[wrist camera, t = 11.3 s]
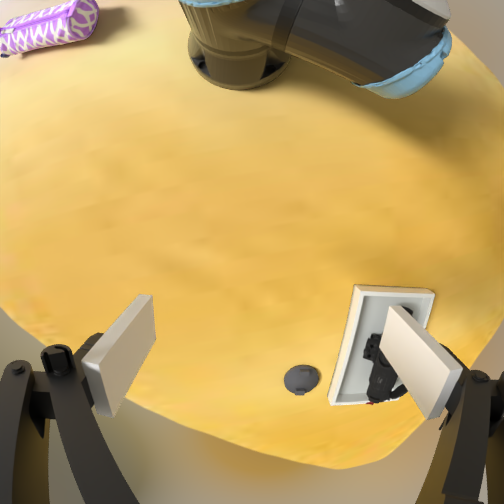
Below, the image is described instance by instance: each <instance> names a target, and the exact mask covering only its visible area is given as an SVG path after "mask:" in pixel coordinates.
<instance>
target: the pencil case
mask: <svg viewBox="0 0 504 504" xmlns="http://www.w3.org/2000/svg"><path fill="white" fill-rule="evenodd" d="M98 15H99V8H98V5H97V3H96V1H95V0H71V1H69V2H67V3H63V4H60V5H57V6H54V7H51V8H47V9H44V10H40V11H37V12H33V13H30V14H26V15H23V16H20V17H15V18H12V19H11V20H9V21H8V22H7V23H6V24H5V26H4V27H3V28H0V49H1V51H2V54H1V57H3V58H8V57H9V56H10V55H16V54H18V53H23V52H27V51H30V50H34V49H38V48H44V47H48V46H55V45H62V44H66V43H70V42H75V41H79V40H84V39H86V38H88V37H89V36H90V35H91V34H92V32H93V31H94V29H95V27H96V25H97V19H98Z"/></svg>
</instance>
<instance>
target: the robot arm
mask: <svg viewBox="0 0 504 504" xmlns="http://www.w3.org/2000/svg"><path fill="white" fill-rule="evenodd" d="M179 3H180V5H181V7H182V9H183V11H184V13H185V16H186V18H187V20H188V22H189V24H190V27H191V32H190V36H189V40H188V52H189V56H190V59H191V61H192V63H193V65H194V67H195V69H196V70H197V72H198V73H199V74H200V75H201V76H202V77H203V78H204V79H206V80H207V81H209V82H210V83H212V84H214V85H216V86H219V87H222V88H227V89H233V90H245V89H252V88H256V87H260V86H262V85H265V84H267V83H269V82H271V81H272V80H274V79H275V78H276V77H278V76H279V75H280V74H281V73H282V72H283V70H284V69H285V68H286V66H287V64H288V62H289V60H290V57H291V55H293V56H295V57H298V58H301V59H303V60H305V61H308V62H310V63H313V64H315V65H317V66H319V67H322V68H324V69H326V70H328V71H331V72H333V73H335V74H337V75H339V76H341V77H343V78H345V79H347V80H349V81H351V83H352V84H353V85H355V86H357V87H360V88H365V89H367V90H369V91H371V92H373V93H375V94H377V95H379V96H381V97H384V98H387V99H391V98H392V99H400V98H404V97H407V96H409V95H411V94H413V93H415V92H417V91H418V90H420V89H421V88H422V87H424V86H425V85H426V84H427V83H428V82H429V81H430V80H432V79H433V78H434V76H435V75H436V74H437V73H438V72H439V70H440V69H441V68H442V66H443V64H444V62H443V59H444V58H446V57H447V56H448V55H449V53H450V50H451V46H452V37H451V34H450V32H449V30H448V29H447V27H446V26H445V24H446V23H447V22H448V21H449V19H450V17H451V13H450V9H449V6H448V2H447V0H179ZM155 340H156V334H155V323H154V311H153V297H152V295H143V294H139V295H138V296H137V297H136V298H135V300H134V301H133V302H132V303H131V304H130V305H129V306H128V307H127V308H126V309H125V311H124V312H123V313H122V314H121V315H120V316H119V317H118V318H117V320H116V321H115V322H114V323H113V324H112V325H111V326H110V327H109V329H108V330H107V331H106V332H105V333H104V334H103V333H96V334H94V335H93V336H91V337H89V338H88V339H87V340H86V342H85V343H84V344H83V345H82V346H81V347H80V349H78V350H77V351H76V353H75V354H74V355H72V351H71V349H70V348H69V347H68V346H66V345H62V344H56V345H51V346H48V347H47V348H45V349H44V350H43V351H42V352H41V359H42V363H43V365H44V369H45V372H38V371H33V370H32V367H31V365H30V363H29V362H27V361H24V360H16V361H13V362H11V363H10V364H8V365H7V366H6V368H5V370H4V373H3V375H2V378H1V381H0V504H50V502H49V486H48V485H49V483H48V448H49V428H50V419H56V421H57V425H58V429H59V432H60V436H61V439H62V443H63V445H64V449H65V452H66V455H67V458H68V461H69V464H70V467H71V470H72V472H73V475H74V478H75V480H76V483H77V485H78V487H79V490H80V492H81V495H82V497H83V499H84V501H85V503H86V504H139V502H138V500H137V499H136V497H135V496H134V494H133V492H132V491H131V489H130V487H129V485H128V484H127V482H126V480H125V479H124V477H123V475H122V473H121V471H120V470H119V468H118V466H117V464H116V462H115V460H114V458H113V456H112V454H111V452H110V450H109V448H108V446H107V444H106V442H105V440H104V438H103V436H102V433H101V431H100V429H99V427H98V424H97V422H96V420H95V417H94V415H93V413H92V410H91V408H92V406H93V405H95V408H96V411H97V414H101V415H104V416H108V417H112V418H114V416H115V414H116V412H117V410H118V409H119V407H120V404H121V403H122V401H123V399H124V397H125V395H126V393H127V392H128V390H129V388H130V386H131V384H132V382H133V380H134V378H135V377H136V375H137V373H138V371H139V369H140V367H141V366H142V364H143V362H144V360H145V358H146V357H147V355H148V353H149V351H150V349H151V348H152V346H153V344H154V342H155ZM379 348H380V349H381V351H382V352H383V354H384V355H385V357H386V358H387V360H388V361H389V363H390V364H391V366H392V367H393V369H394V370H395V372H396V373H397V375H398V376H399V378H400V379H401V381H402V382H403V384H404V385H405V387H406V388H407V390H408V391H409V393H410V395H411V396H412V398H413V399H414V401H415V402H416V404H417V406H418V407H419V409H420V410H421V412H422V413H423V415H424V417H425V418H426V420H429V419H433V418H437V417H440V415H441V413H442V411H443V409H444V407H446V409H447V410H448V414H447V416H446V417H445V419H444V421H443V423H442V425H441V426H440V428H439V430H441V429H442V432H441V435H440V438H439V442H438V445H437V448H436V451H435V454H434V457H433V460H432V463H431V466H430V469H429V472H428V474H427V477H426V479H425V482H424V484H423V487H422V489H421V492H420V494H419V496H418V498H417V501H416V503H415V504H484V503H483V502H479V501H478V497H479V493H480V489H481V484H482V479H483V473H484V467H485V465H486V475H487V490H488V504H504V417H503V416H504V372H502V374H501V376H500V378H499V380H490V377H489V376H488V375H487V374H486V373H484V372H482V371H479V370H471V371H470V370H469V369H468V368H467V367H466V366H465V365H464V364H463V363H462V362H461V361H460V360H459V359H458V358H457V357H456V356H455V355H454V354H453V352H452V351H451V350H450V349H449V348H447V347H446V346H444V345H442V344H441V343H438V342H437V341H436V340H435V339H434V338H433V337H432V336H431V335H430V334H429V333H428V332H427V331H426V330H425V329H424V328H423V327H422V326H421V325H420V324H419V323H418V322H417V321H416V320H415V319H414V318H413V317H412V316H411V315H410V314H409V313H408V312H407V311H406V310H405V309H404V308H403V307H402V306H389V310H388V314H387V319H386V323H385V327H384V331H383V334H382V338H381V342H380V346H379ZM442 427H443V428H442Z"/></svg>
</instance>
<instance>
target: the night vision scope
mask: <svg viewBox="0 0 504 504" xmlns="http://www.w3.org/2000/svg"><path fill="white" fill-rule="evenodd" d="M402 307H403V308H404V309H405V310H406V311H407V312H408V313H409V314H410V315H411V316H412V314H413V311H412V310H411V309H410V308H407V307H404V306H402ZM412 317H413V316H412ZM385 323H386V322H385ZM384 327H385V326H384ZM383 331H384V330H383ZM382 334H383V333H382ZM381 338H382V335H381V336H377V335H374V334H371V337H370V338H368V339H367V342H366V346H365V349H364V350H363V353H364V354H363V358H364V359H367V360H370V361H372V363H374V364H373V367H372V371H371V374H370V377H369V386H368V389H367V392H366V395H367V397H368V398H369V399H368V400H369V401H370V402H367V403H366V404H371V405H373V404H374V403H379V402H384V401H386V400H388V401H389V400H390V399H397V398H399V397H401V396H403V395H404V394H405V393H406V392H408V390H407V388H406V387H405V385H404V384H401V385H400V386H398V387H397V388H396V389H394V390H393V391H392V388H393V387H394V385H395V383H396V380H397V378H398V375H397V373H396V372H395V370H394V369H393V367H392V366H391V364H390V363H389V361H388V360H387V358H386V357H385V355H384V354H383V352H382V351H381V349H380V348H379V346H380V342H381Z"/></svg>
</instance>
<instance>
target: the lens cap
mask: <svg viewBox="0 0 504 504" xmlns="http://www.w3.org/2000/svg"><path fill="white" fill-rule="evenodd" d="M318 380H319V378H318V374H317V371H316V370H315V369H314V368H313V367H311V366H309V365H298V366H295V367H293V368H291V369H290V370H289V371H288V372H287V373H286V374H285V377H284V383H285V387H286V388H287V390H289V391H290V392H292V393H295V395H304V394H305V393H306V392H309V391H311V390H312V389H313V388H314V387H315V386H316V385H317V383H318Z"/></svg>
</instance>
